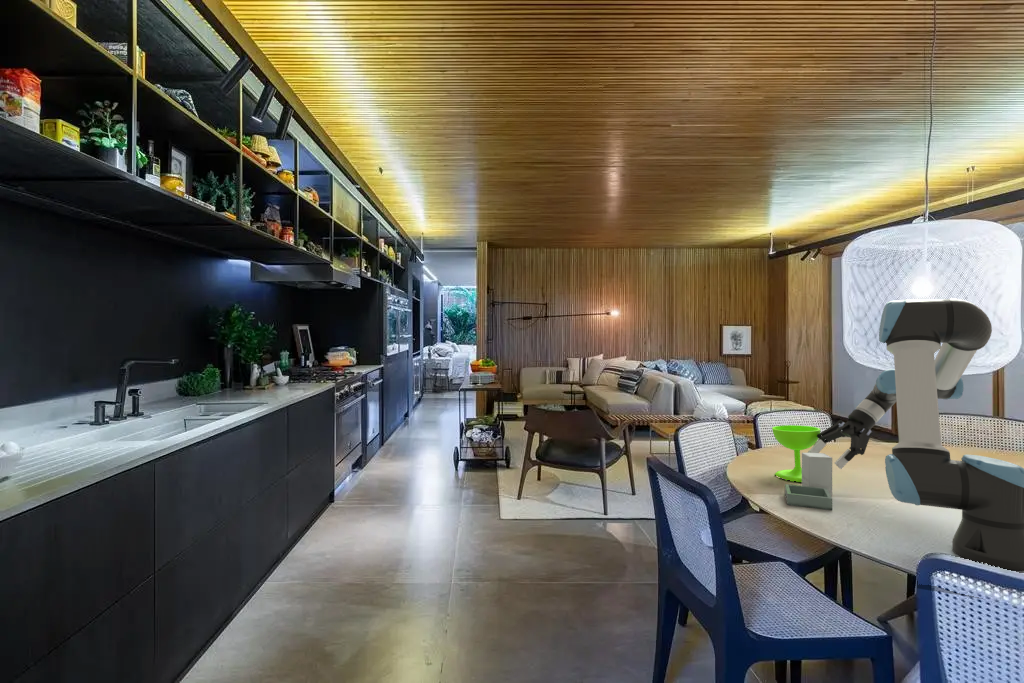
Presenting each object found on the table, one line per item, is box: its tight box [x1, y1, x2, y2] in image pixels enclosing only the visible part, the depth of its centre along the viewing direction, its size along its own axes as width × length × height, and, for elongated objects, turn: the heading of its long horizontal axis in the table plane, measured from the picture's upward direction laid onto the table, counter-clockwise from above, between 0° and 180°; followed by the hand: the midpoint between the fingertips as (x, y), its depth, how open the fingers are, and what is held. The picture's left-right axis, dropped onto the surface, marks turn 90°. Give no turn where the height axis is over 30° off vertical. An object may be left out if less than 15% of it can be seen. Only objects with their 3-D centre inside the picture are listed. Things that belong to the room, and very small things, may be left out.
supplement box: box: [801, 452, 833, 496], centre depth 179 cm, size 7×7×13 cm
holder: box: [784, 483, 833, 511], centre depth 167 cm, size 12×12×4 cm
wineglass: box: [771, 424, 822, 483], centre depth 197 cm, size 16×16×18 cm
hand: (823, 460), depth 181 cm, fingers open, 13 cm apart
